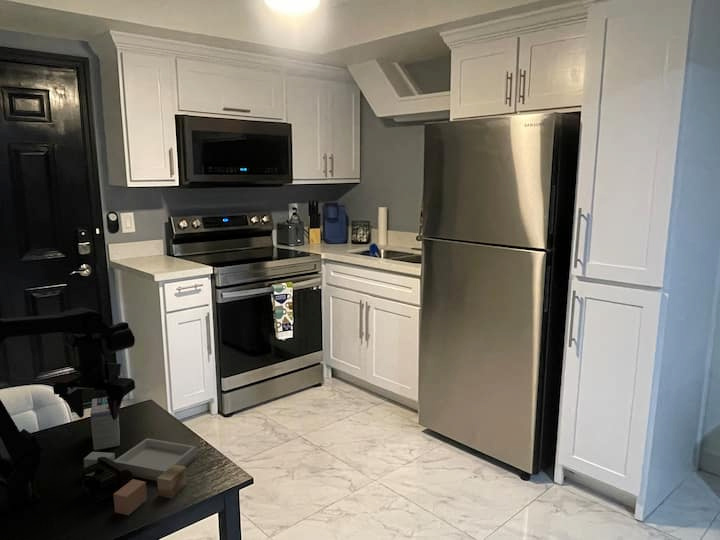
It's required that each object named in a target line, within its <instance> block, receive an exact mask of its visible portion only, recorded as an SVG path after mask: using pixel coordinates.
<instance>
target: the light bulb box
mask: <svg viewBox="0 0 720 540" xmlns="http://www.w3.org/2000/svg"><path fill="white" fill-rule="evenodd" d="M108 397H109V396H104V397H98V398H92V399H91V408H90V414H89V416H90V425H91V434H92V445H93V451H99V450H102V449H103V450H104V449H108V448H114V447H118V446H120V442H121V441H120V438H121V437H120V436H121V435H120V434H121V433H120V418H119V417H120V416H119V415H118V417H117V419H116V420H113V418H112V416H111V413H110V409H109V406H108V402H107V398H108Z"/></svg>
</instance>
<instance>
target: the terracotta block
mask: <svg viewBox="0 0 720 540" xmlns="http://www.w3.org/2000/svg"><path fill="white" fill-rule="evenodd" d="M113 495H114V501H113V503H114V513H116V514H120V515H125V516H129V515H131V514H132V513H133V512H134V511H136V509H138V508H139V507H140V506H142V504H144V503H145V502H146V501H147V500H148V492H147V482H146V481H143V480H139V479H134V478H133V480H131V481H130V482H129V483H127V484H126V485H125V486H123V487H122V488H121V489H119V490H118V491H117V492H116V493H114V494H113Z"/></svg>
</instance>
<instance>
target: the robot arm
mask: <svg viewBox="0 0 720 540" xmlns="http://www.w3.org/2000/svg"><path fill="white" fill-rule="evenodd" d="M55 333H67V334H68V333H69V334H71V336H70V337H69V338H68V339H67V340H66V341H65V346H68V347H71V348H75V351H76V360H77V364H76V365H75V366H74V372H78V374H79V375H66V376H64V377H63V378H61V379H59V380H57V381H55V382H54V383H53V386H52V391H53V394H54V395H57V396H58V398H61V399H63V400H64V402H65V403H66V404H67V405H68V406H69V407H70V408H71V409H72V411H74V413H75V414H76V415H77V417H78V418H79V419H82V418H84V415H85V410H84V401H83V400H84V399H83V393H84V390H92V391H106V395H107V397H108V398H107V402H108V406H109V409H110V413H111V416H112V418H113V420H116V419H117V417H118V416H119V412H120V409H121V405H122V402H123V399H124V397H125V396H127V395H128V394H129V393H131V392H132V391H133V390H135V389H136V382H135V379H133V378H131V377H120V376H121V367H122V364H121V363H118V362H117V363H112V362H109V359H108V358H105V356H104V352H107V354H115V353H117V352H120V351H125V350H127V349H131V348H133V347H134V346H135V342H136V338H135V335H134V333H133V331H132V329H131V328H130V327H129V323H128V322H125V321H122V322H119V323H117V324H114V325H108V324H106V323H105V321H104V318H103V316H102V314H101V313H100V312H98V311H96V310H92V309H89V308H87V307H75V308H72V309H68V310H64V311H62V312H60V313H55V314H46V315H45V314H44V315H31V316H19V317H18V316H17V317H4V318H3V317H2V318H0V345H1V344H2V343H3V341H4V340H5V339H6V338H12V337H23V336H25V337H26V336H35V335H44V334H46V335H47V334H55ZM77 335H80V336H77ZM113 376H116V377H118V378H116V379H115V380H114V381H112V382H109V381H108V380H111V379H113ZM41 451H44V448H42V447H41V446H40V445H39V442H38V440H37V437H36V436H35V435H34V434H32V433H31V432H29V431H28V430H27V429H25V428H23V429H21V430H19V428H18V426H17V424H16V423H15V421H14V420H13V418H12V416H11V415H10V412H9V411H8V410H7V408H6V406H5V404H4V403H3V401H2V399H1V398H0V456H1V457H0V512H2V513H3V512H4V513H7V514H11V515H16V514H18V513H20V512H22V511H23V510H24V509H26V508H28V507H29V506H31V505H32V504H34V503H35V502H37V501H38V500H41V495H40V494H37V489H36V482H35V481H36V480H35V476H36V472H37V468H38V467H39V465H40V464H41V461H42V459H43V454H42V452H41Z"/></svg>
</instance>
